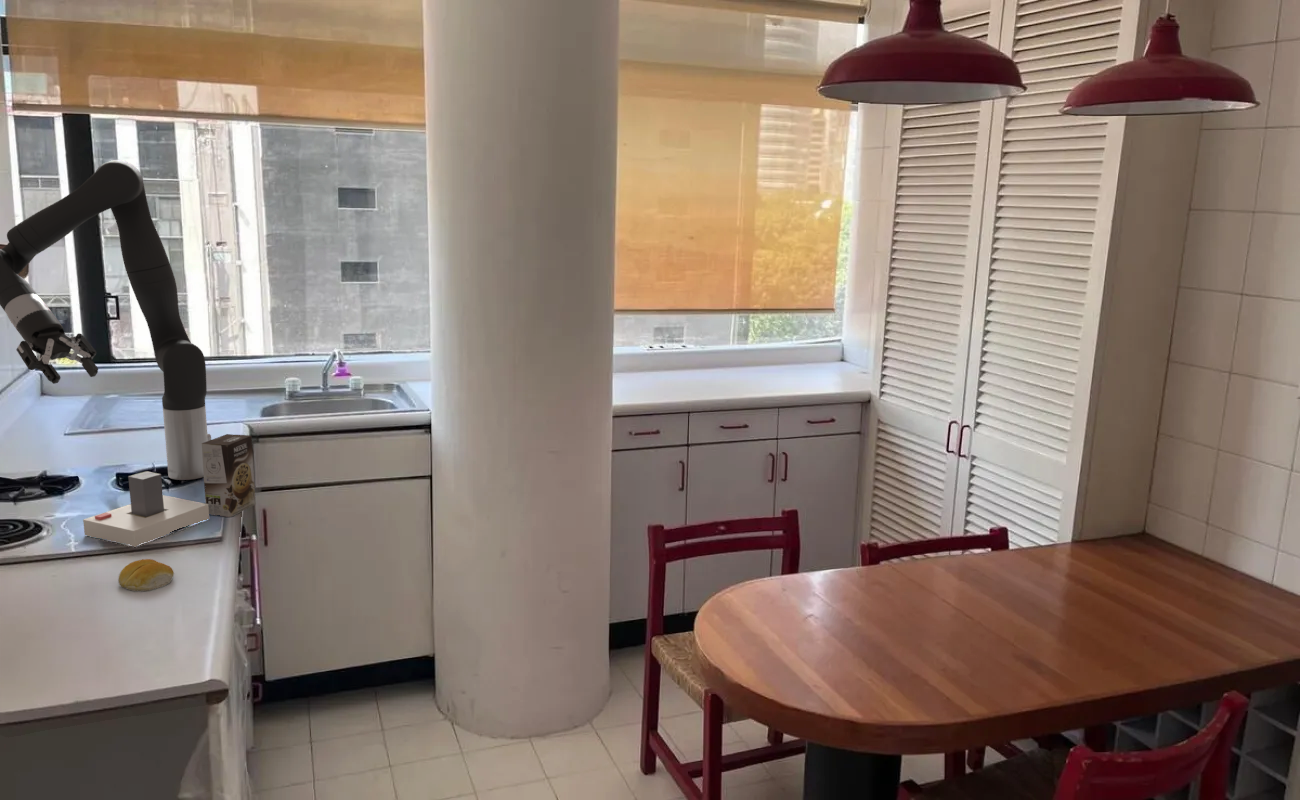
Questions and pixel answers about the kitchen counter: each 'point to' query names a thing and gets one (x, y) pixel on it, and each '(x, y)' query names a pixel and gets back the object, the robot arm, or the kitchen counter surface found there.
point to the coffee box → (228, 474)
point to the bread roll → (145, 575)
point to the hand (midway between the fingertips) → (76, 377)
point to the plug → (146, 494)
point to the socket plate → (145, 521)
